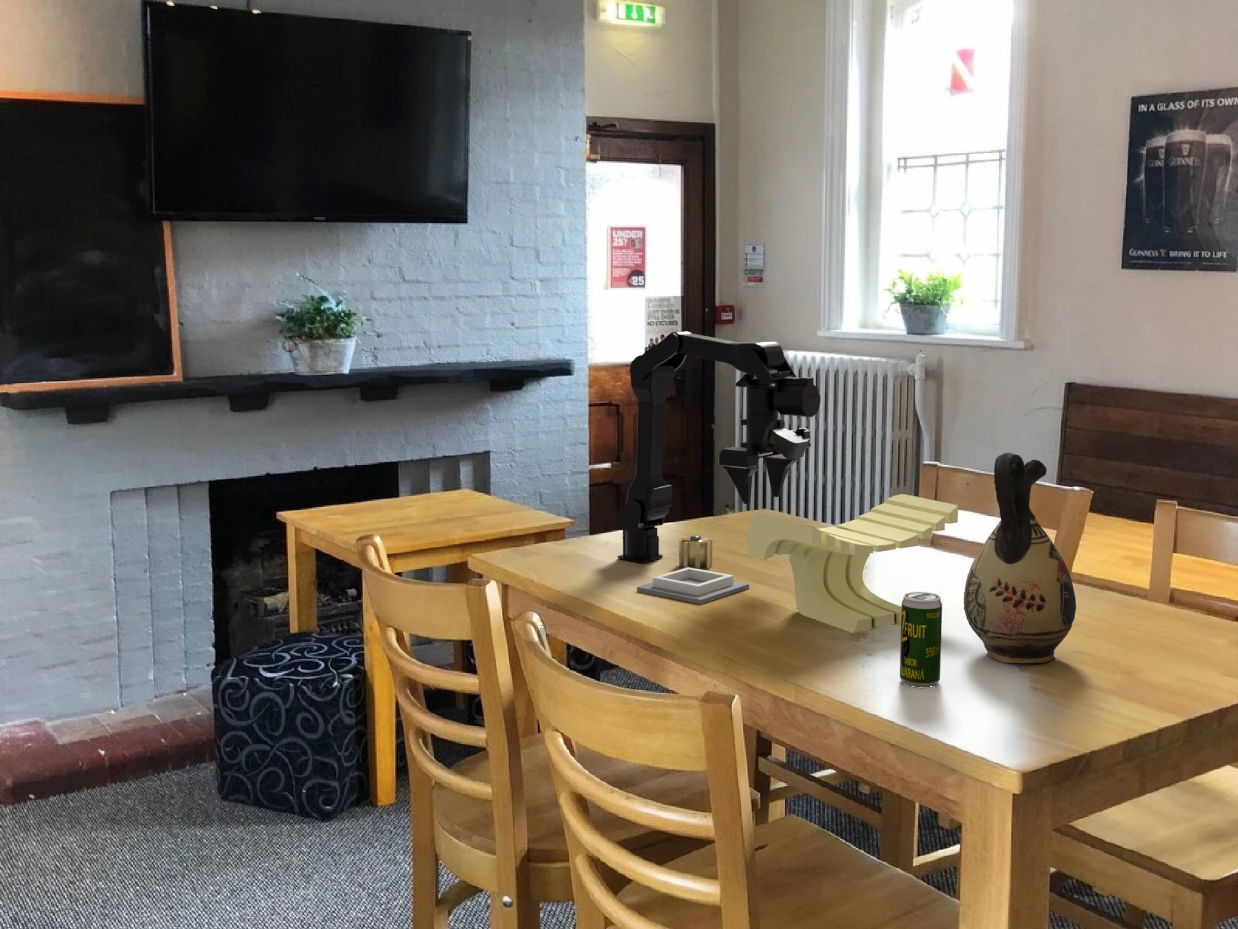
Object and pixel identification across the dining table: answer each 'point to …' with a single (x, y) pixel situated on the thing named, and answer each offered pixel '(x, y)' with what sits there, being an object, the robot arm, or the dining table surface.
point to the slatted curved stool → (847, 557)
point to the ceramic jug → (1019, 576)
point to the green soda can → (920, 639)
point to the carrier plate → (693, 585)
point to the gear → (695, 552)
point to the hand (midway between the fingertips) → (761, 500)
